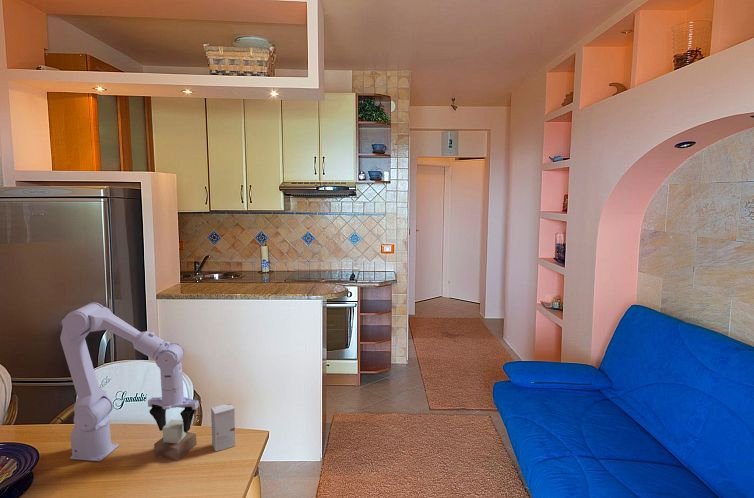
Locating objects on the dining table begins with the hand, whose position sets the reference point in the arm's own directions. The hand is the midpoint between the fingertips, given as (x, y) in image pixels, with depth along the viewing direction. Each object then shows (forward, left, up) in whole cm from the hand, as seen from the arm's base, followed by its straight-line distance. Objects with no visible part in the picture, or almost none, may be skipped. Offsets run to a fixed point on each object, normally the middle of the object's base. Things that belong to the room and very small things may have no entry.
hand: (174, 429), depth 131 cm
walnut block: (0, 0, -7) cm, 7 cm away
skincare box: (+13, +4, -7) cm, 15 cm away
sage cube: (0, 0, -3) cm, 3 cm away
